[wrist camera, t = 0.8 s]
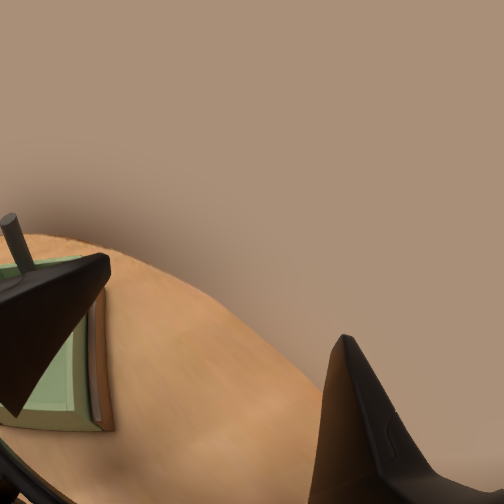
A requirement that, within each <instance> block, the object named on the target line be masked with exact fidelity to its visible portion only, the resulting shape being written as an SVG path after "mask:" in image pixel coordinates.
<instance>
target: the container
mask: <svg viewBox="0 0 504 504" xmlns="http://www.w3.org/2000/svg"><path fill="white" fill-rule="evenodd" d="M0 226H1V229H2V232H3V234H4V237H5V239H6V242H7V244H8V247H9V249H10V252H11V254H12V256H13V258H14V261H15V263H12V264H4V265H0V280H2V279H6V278H10V277H14V276H17V275H20V274H24V273H25V274H26V273H27V272H31V271H34V270H38V269H41V268H45V267H48V266H52V265H55V264H59V263H62V262H66V261H70V260H73V259H77V258H81V257H82V255H77V256H68V257H60V258H52V259H43V260H35V261H33V259H32V257H31V254H30V252H29V249H28V247H27V244H26V241H25V239H24V236H23V233H22V231H21V228H20V225H19V222H18V219H17V216H16V214H15V213H10V214H7V215H5V216H4V217H3V218H2V219H1V220H0ZM88 311H89V310H88ZM0 423H2V424H4V425H8V426H15V427H23V428H31V429H42V430H58V431H102V427H100V426H99V425H97V424H96V423H95V422H93V418H92V409H91V400H90V388H89V372H88V312H87V313H86V314H85V316H84V317H83V318H82V320H81V321H80V322H79V324H78V325H77V326H76V328H75V329H74V330H73V332H72V333H71V335H70V336H69V337H68V339H67V340H66V342H65V343H64V344H63V346H62V347H61V349H60V350H59V352H58V353H57V354H56V356H55V357H54V359H53V360H52V362H51V363H50V365H49V366H48V368H47V369H46V371H45V373H44V374H43V376H42V377H41V379H40V380H39V382H38V384H37V385H36V387H35V389H34V390H33V392H32V394H31V395H30V397H29V399H28V400H27V402H26V404H25V406H24V407H23V409H22V411H21V413H20V414H19V416H18V417H17V419H16V418H15V417H14V416H13V415H12V414H11V413H10V412H9V411H8V410H7V409H6V408H5V407H4V406H3V405H2V404H1V403H0Z"/></svg>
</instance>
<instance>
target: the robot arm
mask: <svg viewBox="0 0 504 504" xmlns="http://www.w3.org/2000/svg"><path fill="white" fill-rule="evenodd" d="M110 276H111V266H110V258H109V256H108V255H106V254H104V253H96V254H92V255H88V256H84V257H81V258H77V259H73V260H70V261H66V262H62V263H59V264H55V265H52V266H48V267H45V268H41V269H38V270H34V271H31V272H27V273H26V274H25V273H24V274H20V275H17V276H14V277H10V278H6V279H2V280H0V403H1V404H2V405H3V406H4V407H5V408H6V409H7V410H8V411H9V412H10V413H11V414H12V415H13V416H14V417H15V418H16V419H17V417H18V416H19V414H20V413H21V411H22V409H23V407H24V406H25V404H26V402H27V400H28V399H29V397H30V395H31V394H32V392H33V390H34V389H35V387H36V385H37V384H38V382H39V380H40V379H41V377H42V376H43V374H44V373H45V371H46V369H47V368H48V366H49V365H50V363H51V362H52V360H53V359H54V357H55V356H56V354H57V353H58V352H59V350H60V349H61V347H62V346H63V344H64V343H65V342H66V340H67V339H68V337H69V336H70V335H71V333H72V332H73V330H74V329H75V328H76V326H77V325H78V324H79V322H80V321H81V320H82V318H83V317H84V316H85V314H86V313H87V312H88V310H89V309H90V308H91V306H92V305H93V303H94V302H95V300H96V299H97V297H98V296H99V294H100V292H101V291H102V289H103V288H104V286H105V285H106V283H107V282H108V280H109V278H110ZM19 493H22V494H23V495H24V496H25V497H26V498H27V499H28V500H29V501H30V502H31V503H33V504H77V503H75V502H74V501H72V500H71V499H69V498H68V497H66V496H65V495H64V494H62V493H61V492H60V491H58V490H57V489H56V488H54V487H53V486H52V485H51V484H49V483H48V482H47V481H46V480H44V479H43V478H42V477H41V476H40V475H38V474H37V473H36V472H35V471H34V470H33V469H31V468H30V467H29V466H28V465H27V464H26V463H25V462H24V461H23V460H22V459H21V458H20V457H19V456H18V455H17V454H16V453H14V452H13V450H12V449H11V448H10V447H9V446H8V445H7V444H6V443H5V442H4V441H3V440H2V439H1V438H0V504H26V503H25V502H23V501H22V500H20V499H19V498H17V496H18V495H19ZM309 496H310V497H309V499H308V504H504V490H503V489H500V490H497V491H495V492H491V493H487V492H481V491H478V490H475V489H473V488H470V487H467V486H464V485H462V484H459V483H456V482H454V481H451V480H449V479H446V478H444V477H442V476H440V475H439V474H437V473H436V472H435V471H434V470H433V469H432V468H431V466H430V465H429V463H428V462H427V460H426V459H425V458H424V456H423V454H422V453H421V451H420V450H419V448H418V447H417V445H416V444H415V442H414V441H413V439H412V438H411V436H410V434H409V433H408V431H407V430H406V428H405V426H404V424H403V423H402V421H401V419H400V417H399V415H398V413H397V412H395V408H394V406H393V405H392V403H391V401H390V399H389V397H388V396H387V394H386V392H385V390H384V388H383V387H382V385H381V383H380V381H379V380H378V378H377V376H376V374H375V373H374V371H373V369H372V368H371V366H370V364H369V363H368V361H367V359H366V357H365V356H364V354H363V352H362V351H361V349H360V347H359V346H358V344H357V343H356V341H355V339H354V338H353V337H352V336H349V335H345V334H342V335H341V336H340V338H339V339H338V341H337V342H336V344H335V346H334V347H333V349H332V352H331V355H330V360H329V365H328V370H327V376H326V380H325V386H324V390H323V399H322V409H321V419H320V428H319V436H318V444H317V451H316V458H315V465H314V471H313V477H312V483H311V489H310V494H309Z"/></svg>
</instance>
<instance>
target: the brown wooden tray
mask: <svg viewBox="0 0 504 504" xmlns="http://www.w3.org/2000/svg"><path fill="white" fill-rule="evenodd" d="M104 307H105V287H104V288H103V289H102V291H101V292H100V294H99V296H98V297H97V299H96V300H95V302H94V303H93V305H92V306H91V308H90V309H89V311H88V372H89V388H90V400H91V409H92V418H93V422H95V423H96V424H97V425H99V426H100V427H102V428H103V429H105V430H106V431H114V424H113V418H112V411H111V404H110V396H109V388H108V378H107V366H106V351H105V319H104ZM0 425H3V424H2V423H0Z"/></svg>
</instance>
